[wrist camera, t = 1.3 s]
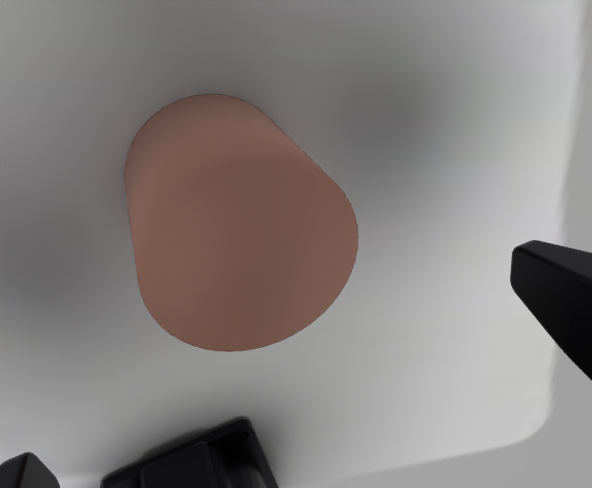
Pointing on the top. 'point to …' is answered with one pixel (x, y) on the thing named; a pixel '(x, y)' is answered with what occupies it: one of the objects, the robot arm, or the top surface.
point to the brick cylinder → (233, 226)
